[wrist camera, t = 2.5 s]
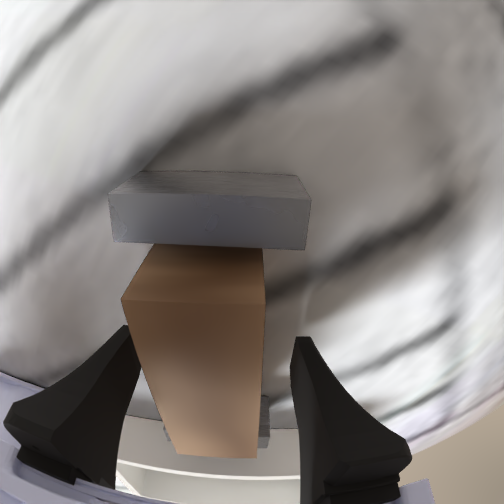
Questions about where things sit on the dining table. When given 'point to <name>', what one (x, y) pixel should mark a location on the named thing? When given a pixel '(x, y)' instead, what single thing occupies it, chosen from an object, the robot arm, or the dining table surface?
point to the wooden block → (202, 343)
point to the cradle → (213, 218)
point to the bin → (207, 469)
